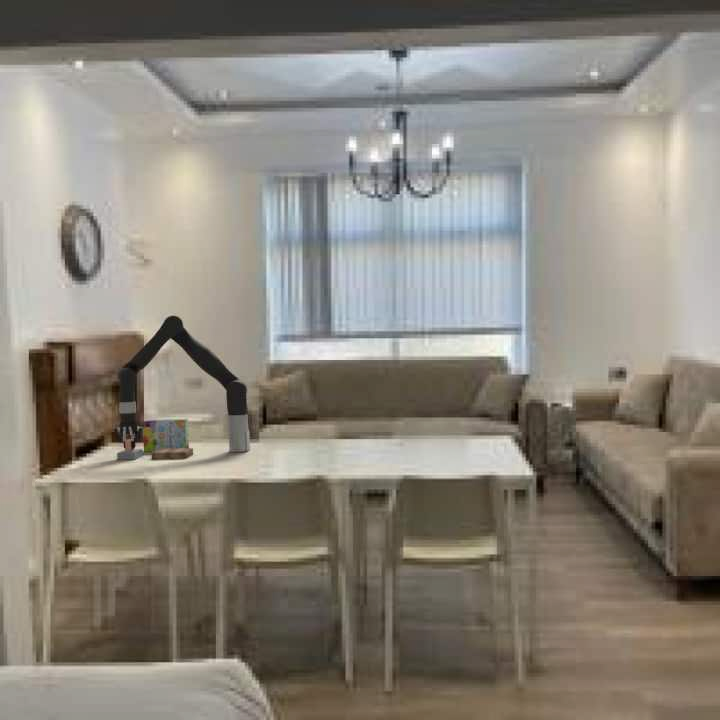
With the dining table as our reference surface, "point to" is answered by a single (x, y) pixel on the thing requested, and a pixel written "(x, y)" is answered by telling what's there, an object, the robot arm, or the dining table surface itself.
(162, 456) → the board
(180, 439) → the snack box
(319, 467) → the dining table surface
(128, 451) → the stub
